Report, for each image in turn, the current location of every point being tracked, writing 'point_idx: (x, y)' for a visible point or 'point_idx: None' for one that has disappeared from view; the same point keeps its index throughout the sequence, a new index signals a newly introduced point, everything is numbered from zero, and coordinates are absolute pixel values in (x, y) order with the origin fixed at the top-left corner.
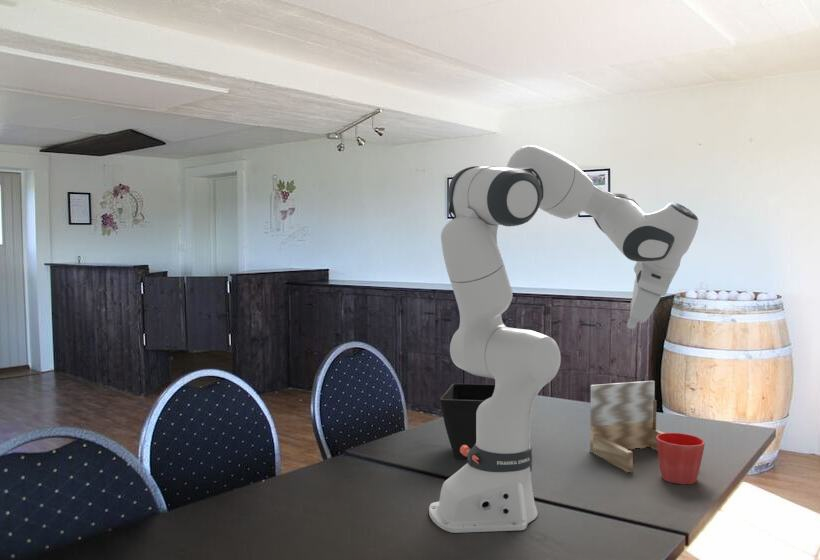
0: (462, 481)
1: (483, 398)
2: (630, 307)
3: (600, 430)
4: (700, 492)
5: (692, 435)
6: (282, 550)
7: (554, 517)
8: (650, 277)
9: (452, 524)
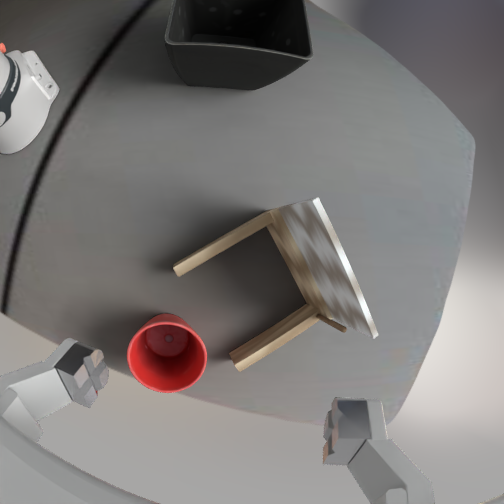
0: None
1: (293, 23)
2: (334, 405)
3: (278, 224)
4: (122, 355)
5: (197, 379)
6: None
7: (9, 172)
8: None
9: None
